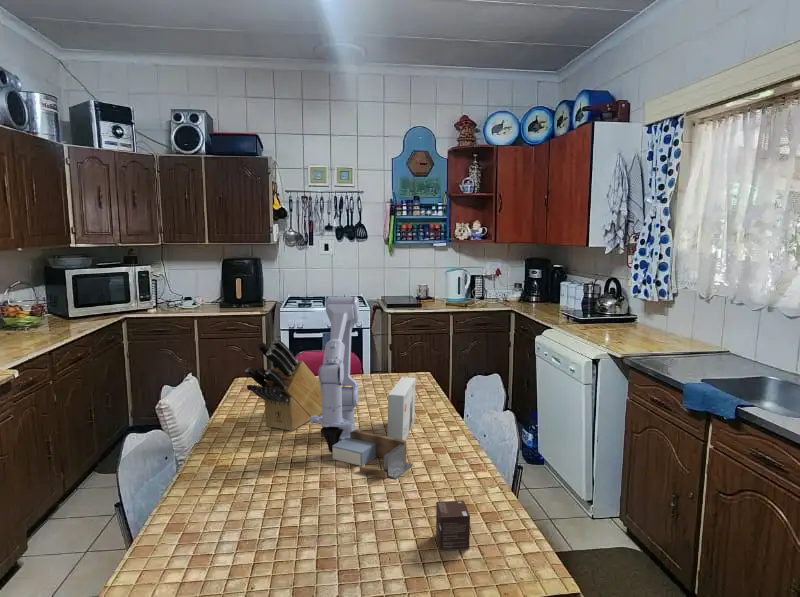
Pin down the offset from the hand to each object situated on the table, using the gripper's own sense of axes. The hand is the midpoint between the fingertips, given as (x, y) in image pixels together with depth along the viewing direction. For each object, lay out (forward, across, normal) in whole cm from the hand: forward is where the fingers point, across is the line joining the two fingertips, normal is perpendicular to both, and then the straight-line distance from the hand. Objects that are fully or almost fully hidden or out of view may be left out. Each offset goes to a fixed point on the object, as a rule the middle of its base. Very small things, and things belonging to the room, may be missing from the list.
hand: (332, 450), depth 146 cm
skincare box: (+2, +10, +24) cm, 26 cm away
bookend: (+1, +21, 0) cm, 22 cm away
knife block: (+1, -28, +16) cm, 32 cm away
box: (+2, +47, -23) cm, 52 cm away
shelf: (+1, +12, 0) cm, 12 cm away
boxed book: (+1, +6, +1) cm, 7 cm away
